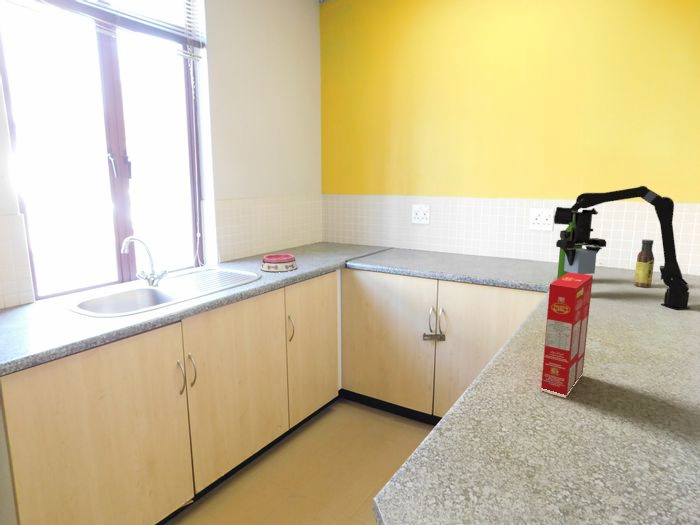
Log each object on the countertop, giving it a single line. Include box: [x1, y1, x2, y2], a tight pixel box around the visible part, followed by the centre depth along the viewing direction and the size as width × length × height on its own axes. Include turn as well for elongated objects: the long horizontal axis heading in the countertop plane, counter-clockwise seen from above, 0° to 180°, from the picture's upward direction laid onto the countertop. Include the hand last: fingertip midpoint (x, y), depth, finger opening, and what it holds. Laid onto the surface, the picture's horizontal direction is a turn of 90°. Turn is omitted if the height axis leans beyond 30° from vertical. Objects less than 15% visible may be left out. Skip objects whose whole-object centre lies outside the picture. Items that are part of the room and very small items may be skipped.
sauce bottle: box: [633, 238, 655, 288], centre depth 193 cm, size 7×6×20 cm
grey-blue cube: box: [564, 247, 597, 275], centre depth 180 cm, size 8×8×9 cm
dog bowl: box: [260, 253, 298, 274], centre depth 233 cm, size 18×19×7 cm
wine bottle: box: [556, 210, 583, 280], centre depth 202 cm, size 9×9×32 cm
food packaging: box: [540, 272, 593, 395], centre depth 105 cm, size 15×5×25 cm, turn 141°
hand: (579, 264), depth 181 cm, fingers closed on grey-blue cube, 8 cm apart
